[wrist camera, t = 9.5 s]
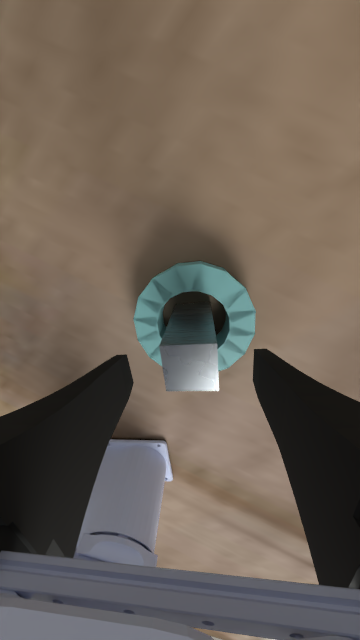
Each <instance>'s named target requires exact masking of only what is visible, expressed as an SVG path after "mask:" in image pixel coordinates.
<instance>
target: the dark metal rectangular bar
mask: <svg viewBox="0 0 360 640" xmlns="http://www.w3.org/2000/svg"><path fill="white" fill-rule="evenodd" d="M159 348H160V354H161V361H162V367H163V373H164V379H165V385H166V391H219V379H218V351H217V339H216V333H215V327H214V322H213V316H212V310H211V304H210V302H197V303H183V304H176V305H175V308H174V310H173V313H172V315H171V318H170V320H169V323H168V325H167V328H166V330H165V333H164V335H163V338H162V340H161V343H160V345H159Z"/></svg>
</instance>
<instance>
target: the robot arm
mask: <svg viewBox="0 0 360 640" xmlns="http://www.w3.org/2000/svg"><path fill="white" fill-rule="evenodd" d="M253 382H254V386H255V390H256V393H257V396H258V399H259V402H260V404H261V406H262V409H263V411H264V413H265V416H266V418H267V420H268V423H269V425H270V427H271V430H272V432H273V434H274V437H275V439H276V442H277V444H278V447H279V449H280V452H281V455H282V459H283V462H284V465H285V468H286V471H287V474H288V477H289V481H290V484H291V487H292V490H293V494H294V497H295V500H296V503H297V507H298V510H299V514H300V517H301V521H302V524H303V527H304V531H305V534H306V538H307V542H308V545H309V549H310V552H311V556H312V560H313V563H314V567H315V571H316V574H317V578H318V582H319V585H315V584H305V583H296V582H287V581H278V580H268V579H259V578H250V577H241V576H232V575H222V574H213V573H204V572H195V571H186V570H176V569H167V568H158V567H156V564H157V557H158V556H157V555H156V554H154V549H155V543H156V536H157V529H158V523H159V516H160V509H161V503H162V496H163V489H164V483H165V481H172V480H173V474H172V469H171V464H170V459H169V453H168V448H167V443H166V442H165V441H162V440H114V439H110V438H111V436H112V434H113V432H114V430H115V427H116V425H117V423H118V421H119V419H120V417H121V415H122V412H123V410H124V408H125V406H126V404H127V401H128V399H129V396H130V393H131V390H132V386H133V379H132V375H131V370H130V366H129V362H128V358H127V355H116V356H114V357H112V358H111V359H109V360H107V361H106V362H104V363H103V364H101V365H100V366H98V367H96V368H95V369H93V370H92V371H90V372H89V373H87V374H86V375H84V376H82V377H81V378H79V379H77V380H76V381H74V382H72V383H71V384H69V385H67V386H66V387H64V388H62V389H60V390H58V391H56V392H55V393H53V394H51V395H49V396H47V397H45V398H43V399H41V400H38V401H36V402H34V403H32V404H29V405H27V406H25V407H23V408H21V409H18V410H16V411H13V412H11V413H8V414H6V415H3V416H1V417H0V640H214V639H213V638H212V637H211V636H209V635H207V634H205V633H202V632H200V631H198V630H196V629H194V628H201V629H208V630H215V631H222V632H229V633H235V634H242V635H249V636H256V637H263V638H269V639H276V640H360V402H358V401H356V400H354V399H352V398H349V397H347V396H345V395H343V394H341V393H339V392H337V391H335V390H333V389H331V388H329V387H327V386H325V385H323V384H321V383H319V382H318V381H316V380H314V379H312V378H311V377H309V376H307V375H306V374H304V373H302V372H301V371H299V370H297V369H296V368H294V367H293V366H291V365H290V364H288V363H287V362H285V361H284V360H282V359H281V358H279V357H278V356H276V355H275V354H273V353H272V352H271V351H269V350H267V349H254V366H253ZM192 627H194V628H192Z"/></svg>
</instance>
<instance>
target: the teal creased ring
mask: <svg viewBox="0 0 360 640" xmlns="http://www.w3.org/2000/svg"><path fill="white" fill-rule="evenodd" d="M191 291H199V292H203V293H206V294H209V295H212V296H213V297H214V298H216V299H217V300H218V301H219V302H220V303H222V304H223V305H224V307H225V309H226V321H225V323H224V326H223V328H222V330H221V331H220V332H219V333H218V334H217V335H216V339H217V351H218V371H221V370H224V369H226V368H229V367H230V366H231V365H232V364H233V363H234V362H236V361H237V360H238V359H239V358H240V357H241V356H242V355H244V354H245V352H246V350H247V348H248V346H249V344H250V342H251V340H252V338H253V336H254V335H255V313H256V311H255V309H254V307H253V304H252V302H251V300H250V297H249V295H248V293H247V291H246V288H245V287H244V286H243V285H242V284H241V283H240V282H238V281H237V280H236V279H235V278H234V277H232V276H231V275H230V274H229V273H228V272H227V271H226V270H225V269H224V268H221V267H218V266H215V265H212V264H209V263H205V262H202V261H196V262H187V263H177V264H176V265H174V266H172V267H171V268H169V269H167V270H165V271H164V272H162V273H159V274H158V275H156V276H155V277H154V278H153V279H151V281H150V283H149V284H148V285H147V287H146V288H145V289H144V291H143V292H142V293H141V295H140V296H139V297H138V301H137V306H136V311H135V316H134V323H135V328H136V333H137V337H138V341H139V342H140V344H141V345H142V347H143V348H144V350H145V351H146V353H147V354H148V356H149V357H150V358H151V359H153V360H154V361H155V362H157V363H158V364H160V365H161V366H162V361H161V354H160V348H159V345H160V343H161V340H162V338H163V335H164V333H165V330H166V328H167V327H166V326H165V324H164V319H163V309H164V305H165V304H166V302H167V301H168V300H169V299H170V298H172V297H174V296H176V295H178V294H180V293H182V292H191Z"/></svg>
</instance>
